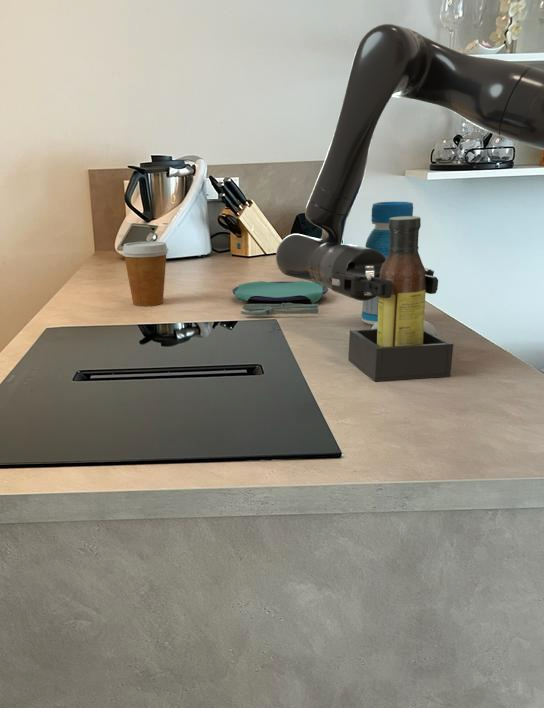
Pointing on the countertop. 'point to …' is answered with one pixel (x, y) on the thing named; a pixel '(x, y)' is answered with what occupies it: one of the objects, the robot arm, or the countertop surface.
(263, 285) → the cutlery set
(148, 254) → the disposable coffee cup
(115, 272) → the countertop surface
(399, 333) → the sauce bottle
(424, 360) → the box
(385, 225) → the beverage bottle
